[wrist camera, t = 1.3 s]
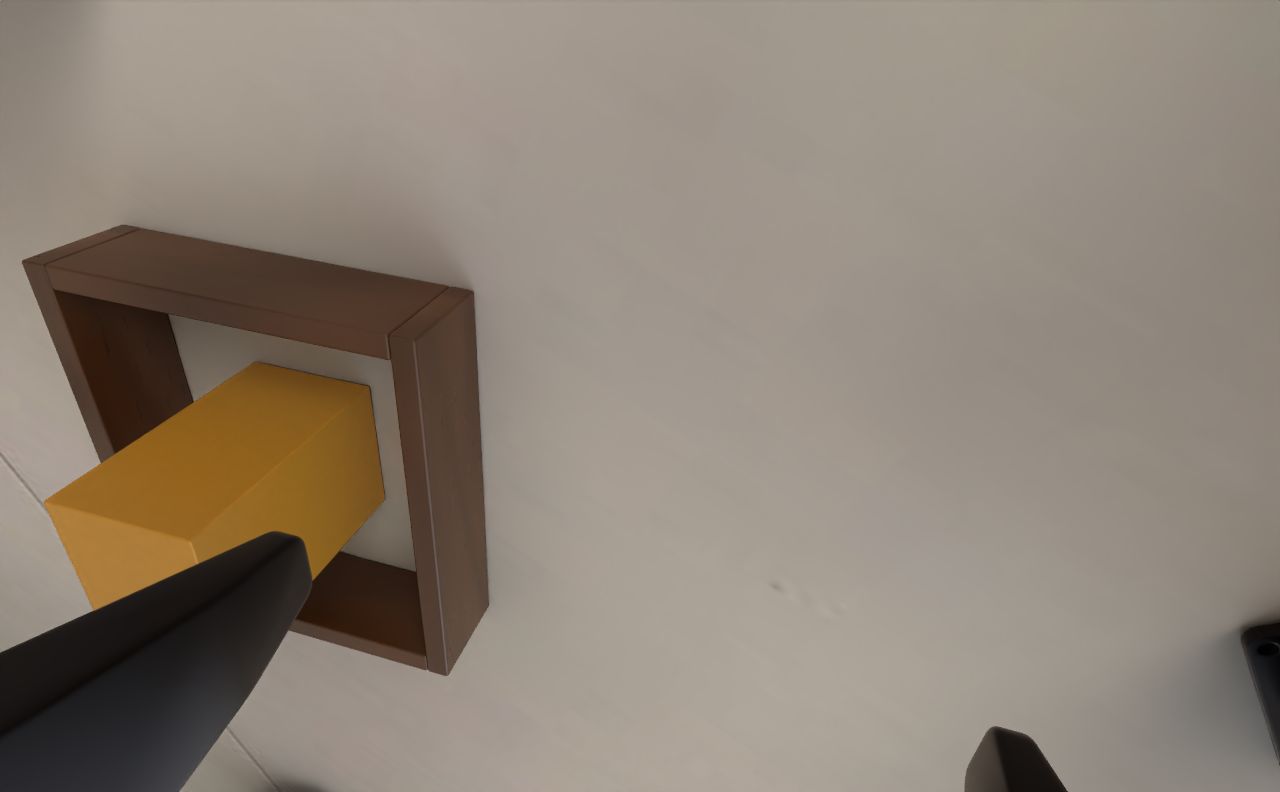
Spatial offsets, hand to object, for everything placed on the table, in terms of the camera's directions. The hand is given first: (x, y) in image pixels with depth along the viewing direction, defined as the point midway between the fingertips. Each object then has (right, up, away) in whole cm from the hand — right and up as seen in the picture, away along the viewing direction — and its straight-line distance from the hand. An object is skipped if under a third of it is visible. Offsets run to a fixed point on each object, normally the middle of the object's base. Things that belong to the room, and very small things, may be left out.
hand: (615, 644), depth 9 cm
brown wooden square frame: (-11, +2, +17) cm, 21 cm away
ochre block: (-11, +2, +17) cm, 21 cm away
